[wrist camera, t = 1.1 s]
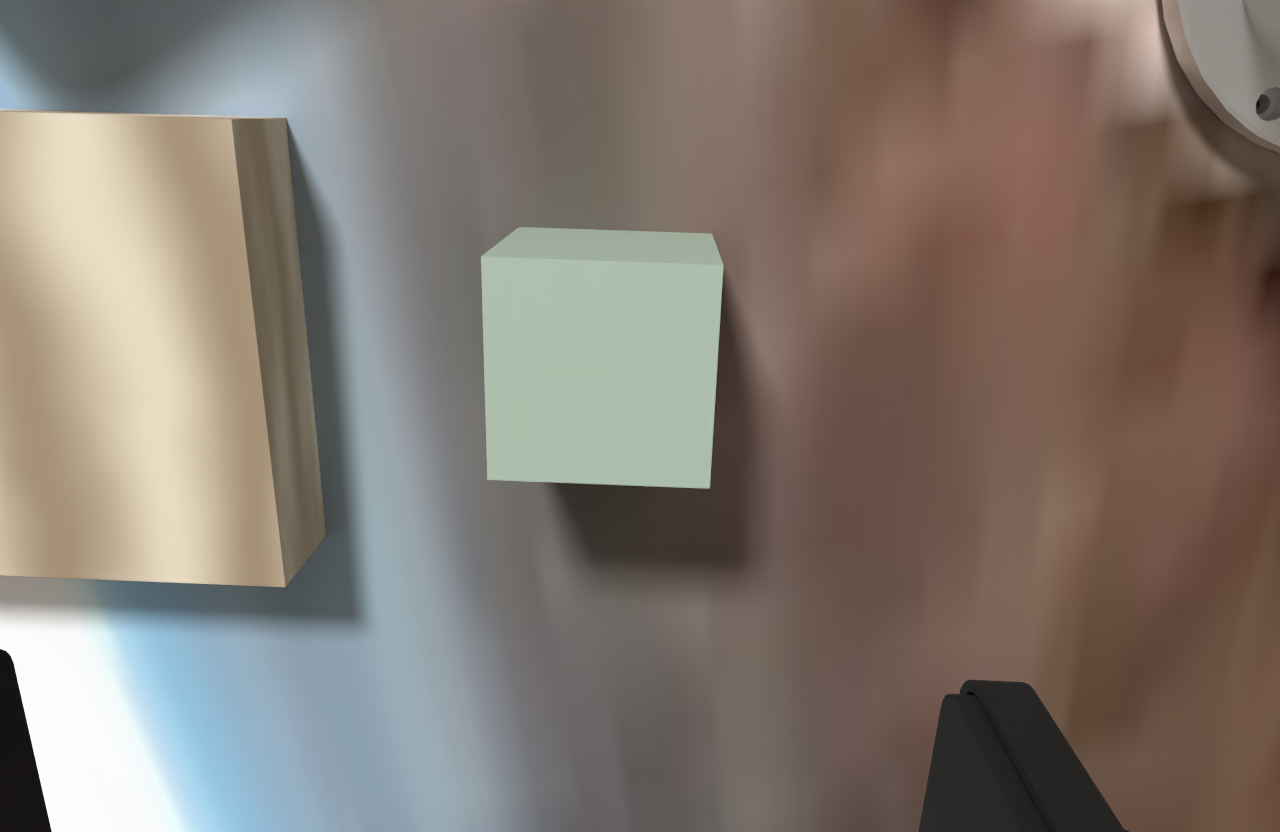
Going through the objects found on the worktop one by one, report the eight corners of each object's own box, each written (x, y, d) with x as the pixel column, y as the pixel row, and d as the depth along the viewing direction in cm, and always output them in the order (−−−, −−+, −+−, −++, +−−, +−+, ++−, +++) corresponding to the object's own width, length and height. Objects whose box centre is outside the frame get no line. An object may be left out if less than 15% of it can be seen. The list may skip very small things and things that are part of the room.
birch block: (292, 118, 27) (231, 119, 23) (330, 530, 32) (285, 587, 28) (-158, 103, 27) (-291, 102, 23) (-55, 514, 32) (-152, 569, 28)
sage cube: (712, 233, 27) (723, 265, 22) (701, 415, 29) (709, 488, 24) (519, 226, 27) (481, 256, 22) (522, 408, 29) (487, 479, 24)
